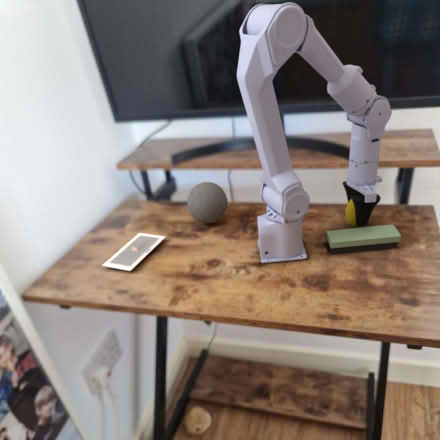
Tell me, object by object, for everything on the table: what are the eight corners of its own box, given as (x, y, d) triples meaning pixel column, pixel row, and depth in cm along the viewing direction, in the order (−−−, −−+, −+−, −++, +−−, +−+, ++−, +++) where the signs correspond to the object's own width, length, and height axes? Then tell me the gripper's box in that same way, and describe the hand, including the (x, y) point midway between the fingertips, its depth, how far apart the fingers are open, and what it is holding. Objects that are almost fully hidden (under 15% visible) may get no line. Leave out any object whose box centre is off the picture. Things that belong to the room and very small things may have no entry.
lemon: (370, 234, 89) (375, 200, 84) (344, 234, 90) (347, 201, 85) (368, 222, 93) (372, 189, 88) (343, 222, 94) (346, 190, 89)
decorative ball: (182, 226, 102) (175, 188, 96) (205, 209, 108) (200, 173, 102) (214, 233, 97) (209, 195, 91) (236, 215, 103) (233, 178, 97)
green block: (330, 255, 84) (331, 242, 82) (325, 242, 88) (326, 230, 86) (399, 248, 83) (401, 235, 81) (391, 236, 87) (393, 224, 85)
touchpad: (103, 269, 90) (100, 261, 89) (140, 236, 101) (138, 228, 99) (131, 275, 87) (128, 266, 86) (166, 240, 97) (165, 232, 96)
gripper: (396, 169, 76) (386, 232, 84) (373, 144, 87) (366, 202, 95) (358, 173, 76) (352, 236, 84) (340, 148, 88) (336, 205, 96)
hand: (357, 218), depth 90 cm, fingers closed on lemon, 5 cm apart
